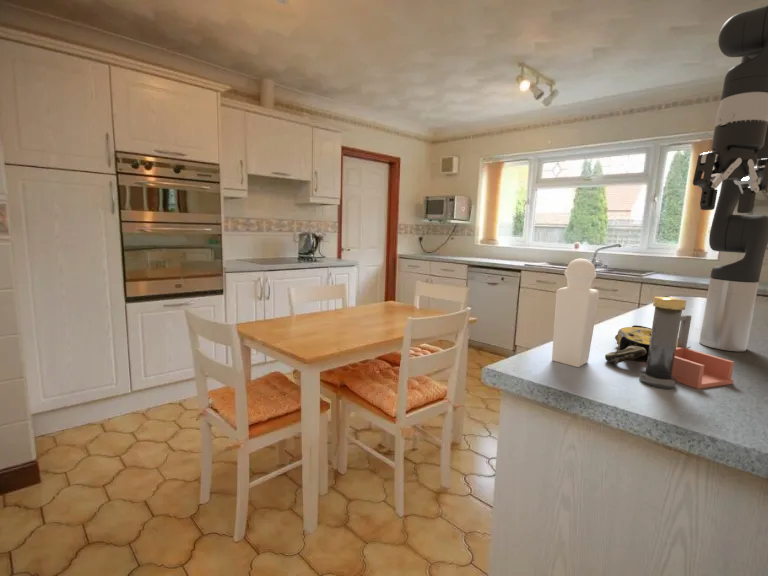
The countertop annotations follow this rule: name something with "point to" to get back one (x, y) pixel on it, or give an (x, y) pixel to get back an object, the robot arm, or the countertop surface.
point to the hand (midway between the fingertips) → (725, 211)
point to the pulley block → (631, 344)
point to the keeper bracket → (698, 363)
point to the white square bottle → (575, 314)
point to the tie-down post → (663, 343)
